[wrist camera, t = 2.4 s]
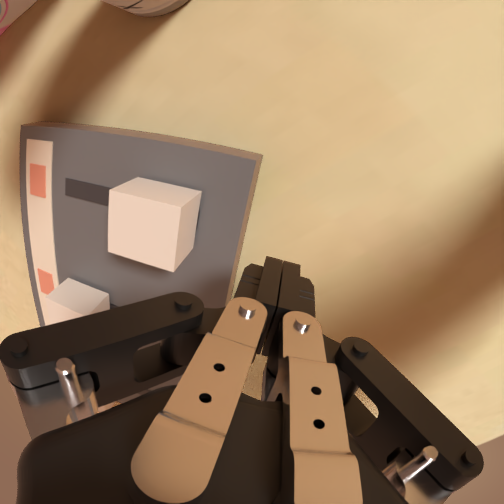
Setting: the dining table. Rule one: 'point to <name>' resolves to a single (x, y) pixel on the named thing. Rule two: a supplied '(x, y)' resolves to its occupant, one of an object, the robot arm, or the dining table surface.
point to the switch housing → (97, 205)
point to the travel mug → (147, 6)
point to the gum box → (12, 11)
